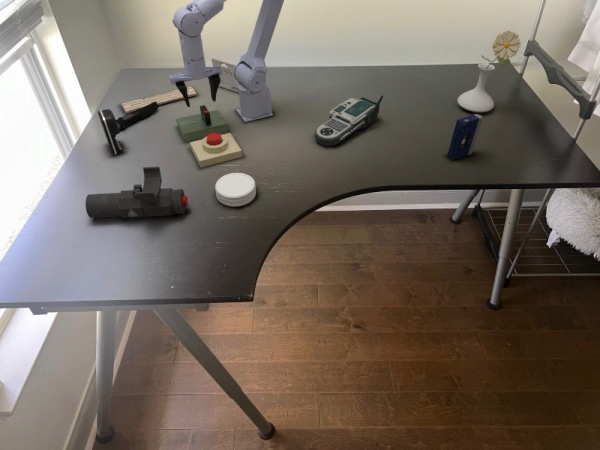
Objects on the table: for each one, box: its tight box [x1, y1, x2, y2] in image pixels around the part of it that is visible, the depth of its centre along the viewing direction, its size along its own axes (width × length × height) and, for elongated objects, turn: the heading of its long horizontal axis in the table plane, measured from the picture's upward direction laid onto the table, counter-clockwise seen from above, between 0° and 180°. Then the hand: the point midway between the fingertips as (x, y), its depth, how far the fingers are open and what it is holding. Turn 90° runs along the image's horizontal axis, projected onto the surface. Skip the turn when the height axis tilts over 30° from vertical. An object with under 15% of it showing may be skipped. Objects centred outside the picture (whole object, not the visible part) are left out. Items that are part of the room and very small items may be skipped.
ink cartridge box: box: [211, 58, 239, 94], centre depth 151 cm, size 2×11×10 cm, turn 57°
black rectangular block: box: [199, 104, 211, 124], centre depth 132 cm, size 5×2×4 cm, turn 25°
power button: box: [207, 133, 222, 146], centre depth 123 cm, size 4×4×2 cm
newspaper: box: [120, 86, 198, 115], centre depth 147 cm, size 24×7×2 cm, turn 121°
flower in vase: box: [456, 29, 522, 113], centre depth 137 cm, size 13×11×25 cm
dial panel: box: [175, 109, 229, 143], centre depth 134 cm, size 13×9×3 cm
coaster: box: [214, 172, 257, 208], centre depth 112 cm, size 10×10×4 cm
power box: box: [189, 132, 243, 168], centre depth 125 cm, size 12×10×4 cm
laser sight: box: [84, 166, 189, 219], centre depth 104 cm, size 10×22×10 cm, turn 95°
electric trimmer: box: [116, 102, 159, 131], centre depth 138 cm, size 4×16×3 cm, turn 142°
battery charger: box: [97, 108, 124, 156], centre depth 124 cm, size 7×4×11 cm, turn 28°
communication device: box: [314, 95, 384, 147], centre depth 133 cm, size 12×24×9 cm, turn 137°
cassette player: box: [446, 113, 484, 161], centre depth 122 cm, size 7×2×12 cm, turn 117°
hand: (201, 102), depth 129 cm, fingers open, 7 cm apart
